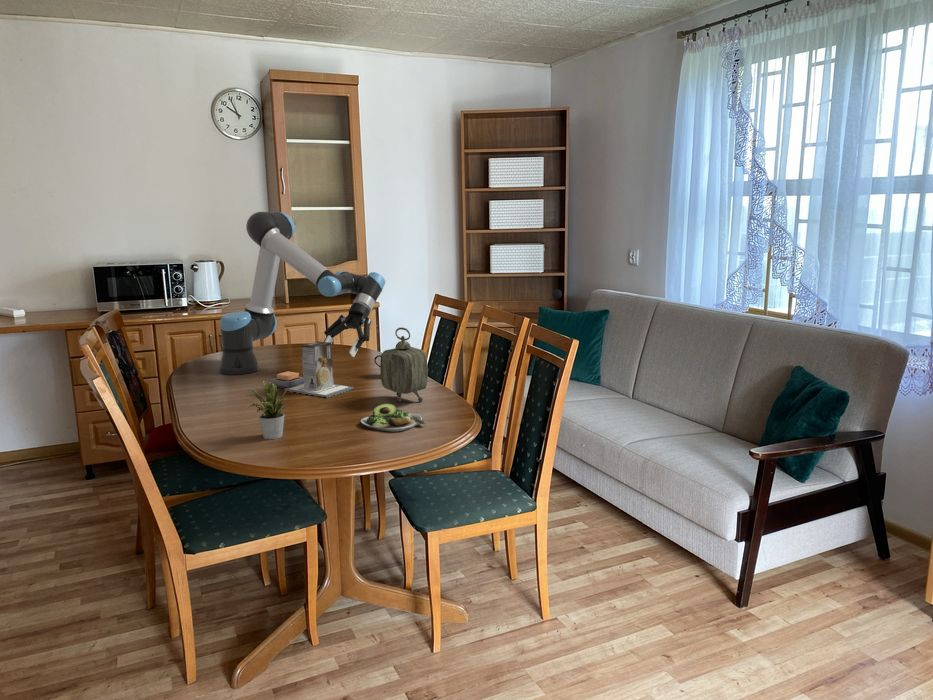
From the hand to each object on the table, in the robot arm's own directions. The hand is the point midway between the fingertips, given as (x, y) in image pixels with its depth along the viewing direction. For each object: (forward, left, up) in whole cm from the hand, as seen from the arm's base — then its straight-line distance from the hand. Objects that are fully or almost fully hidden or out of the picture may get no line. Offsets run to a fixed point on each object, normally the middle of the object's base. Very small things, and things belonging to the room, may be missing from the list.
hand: (337, 353), depth 253 cm
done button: (-15, -10, -9) cm, 20 cm away
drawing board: (0, -10, -12) cm, 16 cm away
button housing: (-15, -10, -12) cm, 22 cm away
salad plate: (+46, -29, -12) cm, 56 cm away
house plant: (+23, -56, -12) cm, 62 cm away
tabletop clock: (+35, -7, -12) cm, 38 cm away
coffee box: (0, -10, -11) cm, 15 cm away
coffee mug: (+10, +20, -12) cm, 25 cm away
